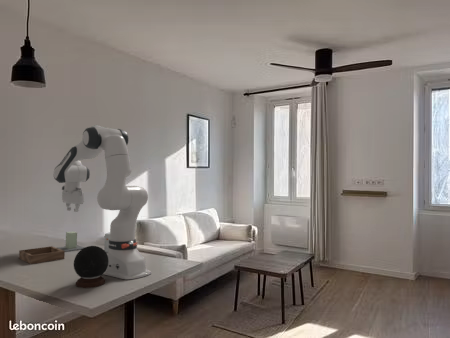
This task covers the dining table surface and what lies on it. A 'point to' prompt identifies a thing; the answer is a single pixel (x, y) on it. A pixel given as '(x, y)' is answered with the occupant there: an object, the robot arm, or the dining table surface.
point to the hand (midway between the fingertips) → (72, 211)
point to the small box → (106, 242)
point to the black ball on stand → (90, 266)
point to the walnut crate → (41, 254)
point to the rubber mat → (70, 249)
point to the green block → (71, 240)
